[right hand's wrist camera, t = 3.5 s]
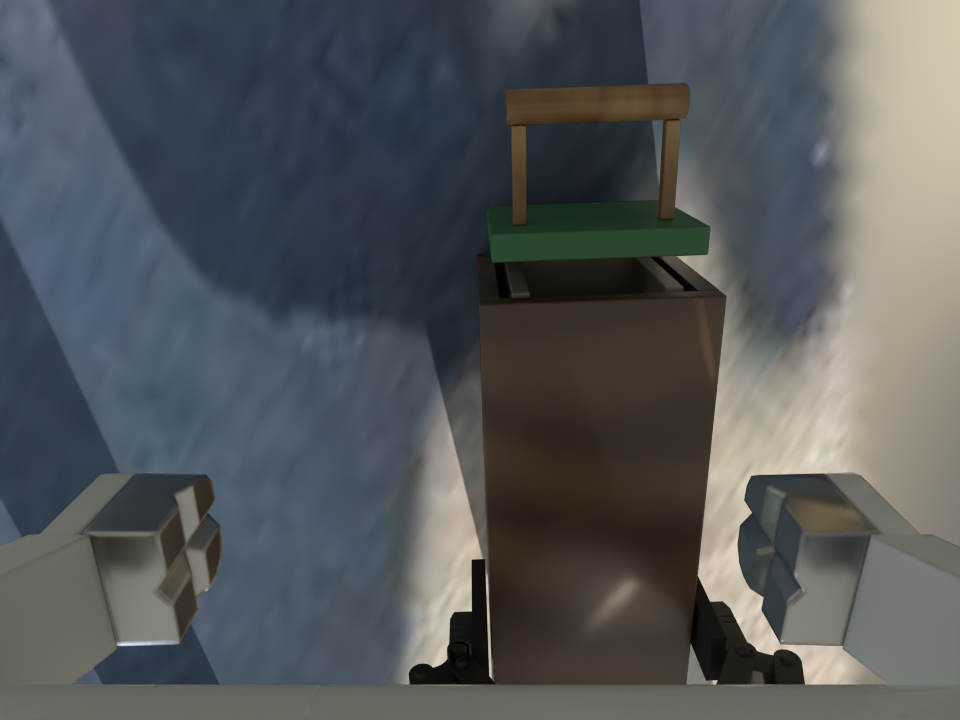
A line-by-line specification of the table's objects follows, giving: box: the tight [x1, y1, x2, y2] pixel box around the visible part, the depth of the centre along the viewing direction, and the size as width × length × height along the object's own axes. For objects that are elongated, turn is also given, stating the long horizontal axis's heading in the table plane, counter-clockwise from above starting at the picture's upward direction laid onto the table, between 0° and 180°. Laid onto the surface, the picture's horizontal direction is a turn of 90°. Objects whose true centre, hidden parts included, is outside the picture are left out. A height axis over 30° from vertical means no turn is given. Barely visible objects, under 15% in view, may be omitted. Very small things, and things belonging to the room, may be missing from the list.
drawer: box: [487, 83, 710, 298], centre depth 34 cm, size 26×9×7 cm, turn 2°
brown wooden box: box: [477, 254, 726, 685], centre depth 36 cm, size 22×10×9 cm, turn 2°
